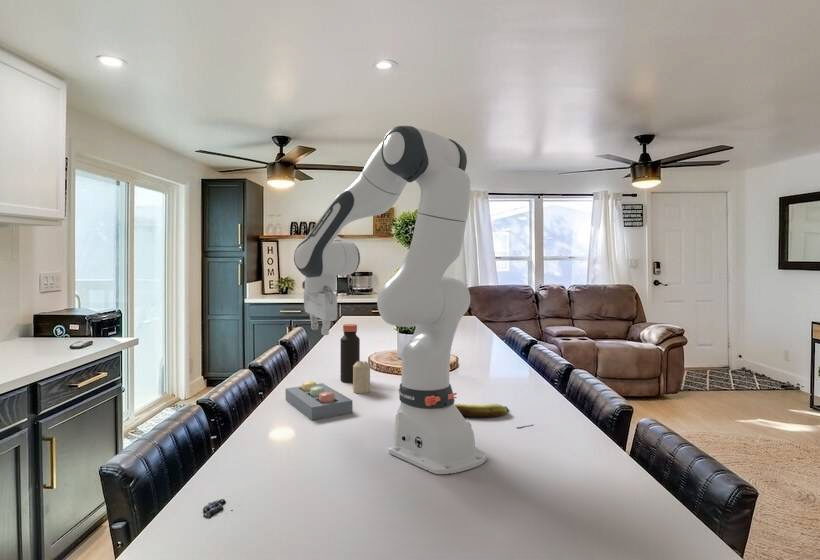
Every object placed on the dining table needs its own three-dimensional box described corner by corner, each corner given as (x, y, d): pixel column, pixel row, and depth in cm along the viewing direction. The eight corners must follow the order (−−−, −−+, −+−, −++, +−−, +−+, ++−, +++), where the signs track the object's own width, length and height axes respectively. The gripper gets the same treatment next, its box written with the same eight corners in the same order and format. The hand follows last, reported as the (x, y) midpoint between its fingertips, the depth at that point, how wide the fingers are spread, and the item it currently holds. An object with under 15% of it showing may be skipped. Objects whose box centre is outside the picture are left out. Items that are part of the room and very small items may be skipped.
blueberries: (243, 503, 83) (244, 492, 83) (227, 524, 75) (227, 512, 75) (205, 503, 82) (205, 492, 82) (185, 525, 74) (185, 513, 74)
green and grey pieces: (423, 435, 115) (423, 420, 115) (415, 402, 142) (415, 390, 142) (560, 432, 117) (561, 417, 117) (527, 400, 144) (527, 388, 144)
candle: (371, 389, 154) (371, 359, 154) (368, 394, 148) (368, 363, 148) (355, 388, 154) (355, 359, 154) (351, 393, 149) (351, 362, 149)
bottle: (338, 379, 167) (338, 324, 167) (356, 377, 170) (356, 323, 169) (343, 383, 161) (343, 326, 160) (362, 381, 164) (362, 325, 163)
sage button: (327, 399, 135) (327, 389, 135) (313, 401, 133) (313, 391, 133) (321, 395, 139) (321, 385, 139) (308, 397, 136) (308, 387, 136)
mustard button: (318, 393, 141) (318, 383, 141) (304, 395, 139) (304, 385, 139) (313, 390, 144) (312, 380, 144) (300, 392, 142) (299, 382, 142)
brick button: (336, 405, 129) (336, 394, 129) (322, 407, 127) (322, 397, 127) (330, 401, 133) (330, 391, 133) (317, 403, 130) (316, 393, 130)
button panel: (352, 412, 130) (352, 400, 130) (311, 420, 123) (311, 407, 123) (322, 393, 148) (322, 383, 148) (285, 399, 142) (285, 388, 142)
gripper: (343, 287, 127) (342, 337, 128) (320, 282, 145) (319, 326, 146) (321, 288, 124) (320, 339, 125) (300, 282, 142) (299, 327, 143)
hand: (319, 332), depth 136 cm, fingers open, 8 cm apart
